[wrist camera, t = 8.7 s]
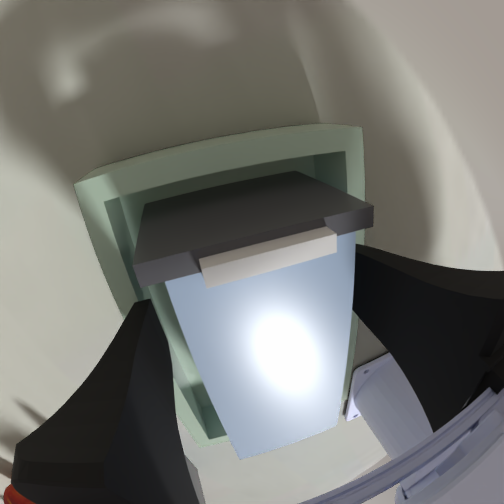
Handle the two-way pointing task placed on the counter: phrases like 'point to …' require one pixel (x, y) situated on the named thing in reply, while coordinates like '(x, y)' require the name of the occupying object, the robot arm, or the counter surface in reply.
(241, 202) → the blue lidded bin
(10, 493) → the fruit
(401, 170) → the counter surface
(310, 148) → the tray
